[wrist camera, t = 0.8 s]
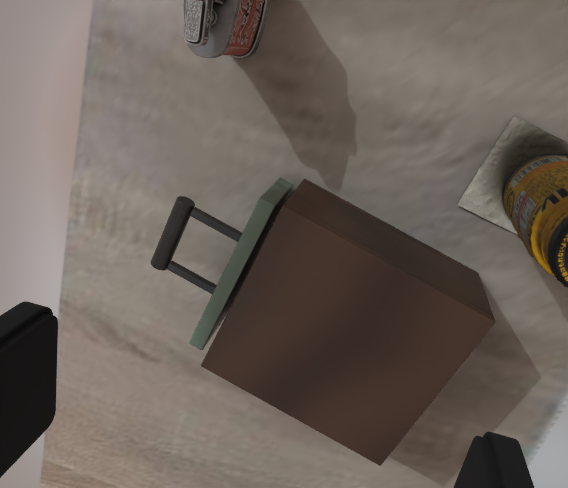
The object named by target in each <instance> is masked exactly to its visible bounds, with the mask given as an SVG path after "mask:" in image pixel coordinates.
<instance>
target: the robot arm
mask: <svg viewBox="0 0 568 488" xmlns="http://www.w3.org/2000/svg"><path fill="white" fill-rule="evenodd" d="M57 336H58V320H57V318H56V317H55V316H53V313H52V310H51V309H50V308H48V307H45V306H41V305H37V304H34V303H30V302H22V303H20V304H18V305H17V306H15V307H14V308H12V309H10V310H9V311H7V312H6V313H4V314H2V315H1V316H0V477H1V476H2V475H3V474H4V473H5V472H6V471H7V470H8V469H9V468H10V467H11V466H12V465H13V464H14V463H15V462H16V461H17V459H19V458H20V456H21V455H22V454H23V453H24V452H25V451H26V450H27V449H28V448H29V447H30V446H31V445H32V444H33V443H34V442H35V441H36V440H37V439H38V438H39V437H40V436H41V435H42V434H43V432H44V431H45V430H46V429H47V428H48V427H49V426H50V424H51V423H52V421H53V418H54V415H55V410H56V374H57ZM454 488H534V486H533V483H532V480H531V477H530V474H529V471H528V468H527V465H526V462H525V459H524V456H523V453H522V450H521V447H520V444H519V442H518V440H516V439H513V438H510V437H506V436H503V435H499V434H496V433H492V432H486V433H485V434H484V436H483V437H479V436H475V438H474V439H473V441H472V443H471V446H470V448H469V451H468V453H467V456H466V458H465V461H464V463H463V466H462V468H461V471H460V473H459V476H458V478H457V480H456V483H455V485H454Z"/></svg>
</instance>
